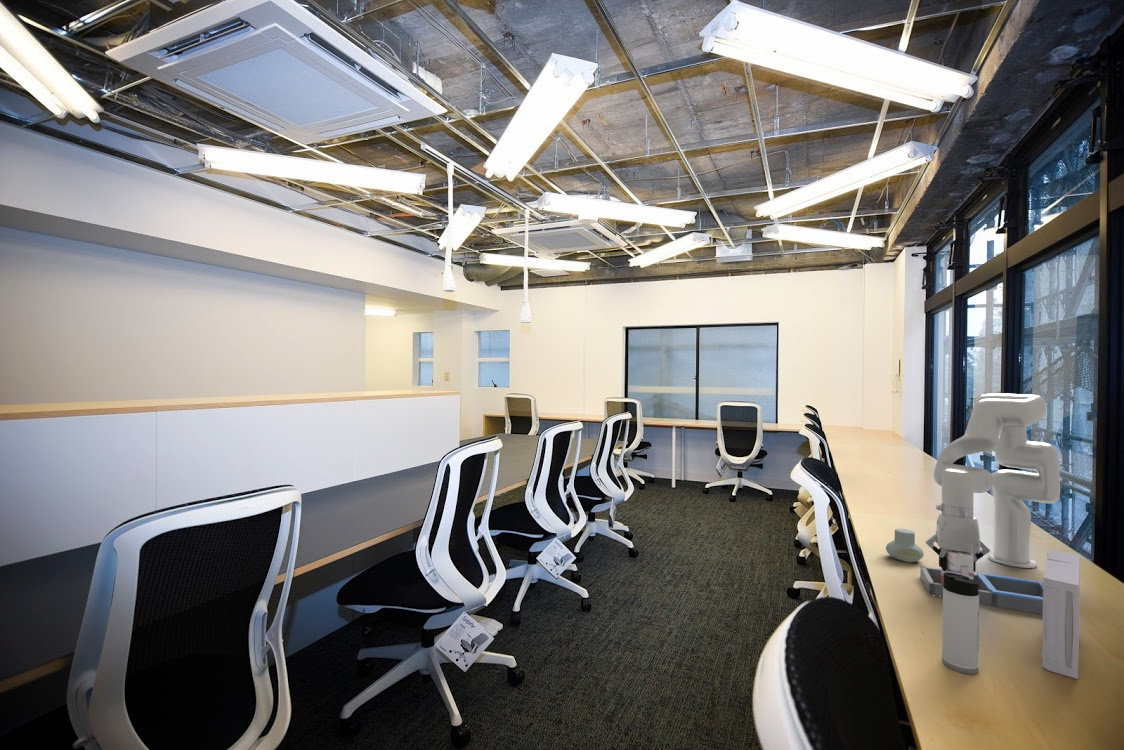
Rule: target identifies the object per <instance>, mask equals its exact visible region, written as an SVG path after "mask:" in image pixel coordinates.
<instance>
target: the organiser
mask: <svg viewBox="0 0 1124 750" xmlns="http://www.w3.org/2000/svg"><path fill="white" fill-rule="evenodd" d="M919 569H920V571H919V572H920V576H919V577H920V579H921V581H922V583H923V585H924V587H925V589H926V591H927V594H928V595H929V594H930V595H935V596H934V597H936V596H941V597H940V598H942V597H943V584H941V583H939V582H941V568H935V567H930V566H922V565H920V568H919ZM973 580H974V581H977V582H979V590H978V591H979V605H985V606H990V607H998V608H1003V609H1008V610H1016V611H1020V612H1021V611H1022V612H1027V613H1033V614H1040V615H1043V588H1042V582H1043V580H1042V581H1040V580H1034V579H1026V578H1020V577H1014V576H1013V577H1012V576H1006V575H999V574H992V573H986V572H977V573H973ZM930 595H929V596H930ZM1038 596H1039V597H1038Z"/></svg>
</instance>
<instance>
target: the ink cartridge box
mask: <svg viewBox="0 0 1124 750" xmlns="http://www.w3.org/2000/svg"><path fill="white" fill-rule="evenodd" d="M970 546H971V553H969V552H961V551H953V550H947V552H946V554H945V558H946V571H943V570H942V568H941V567H940V569H941V581H940V584H944V582H943V574H944V573H955V574H959V575H963V576H966V577H969V579H972V580H973V574H975V573H974V572H973V568H974V557H973V548H972V545H970Z"/></svg>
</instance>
